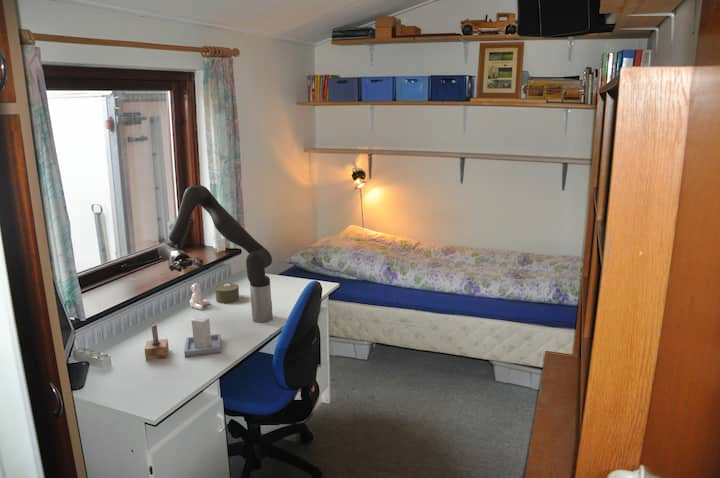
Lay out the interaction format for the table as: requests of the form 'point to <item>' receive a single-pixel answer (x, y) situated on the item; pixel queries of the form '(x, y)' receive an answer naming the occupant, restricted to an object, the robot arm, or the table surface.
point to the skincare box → (201, 332)
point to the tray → (195, 351)
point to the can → (227, 293)
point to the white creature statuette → (197, 298)
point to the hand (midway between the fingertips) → (190, 268)
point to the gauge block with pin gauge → (156, 347)
